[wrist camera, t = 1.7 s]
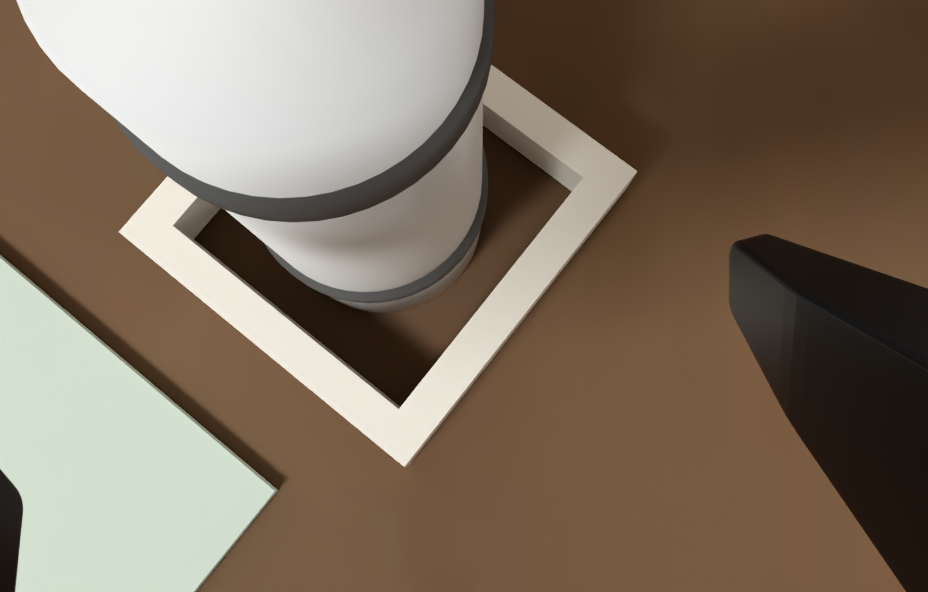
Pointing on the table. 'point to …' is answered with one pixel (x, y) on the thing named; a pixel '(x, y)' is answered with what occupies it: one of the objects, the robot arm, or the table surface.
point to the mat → (107, 462)
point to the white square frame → (410, 426)
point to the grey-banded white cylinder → (304, 124)
